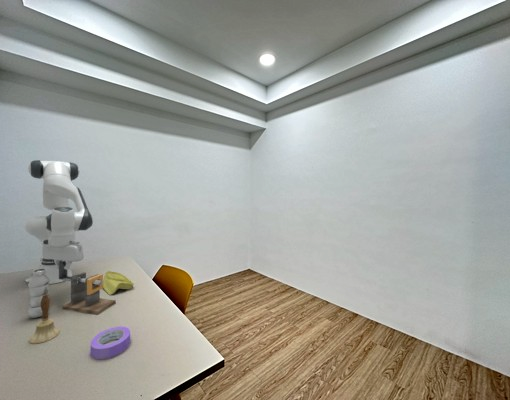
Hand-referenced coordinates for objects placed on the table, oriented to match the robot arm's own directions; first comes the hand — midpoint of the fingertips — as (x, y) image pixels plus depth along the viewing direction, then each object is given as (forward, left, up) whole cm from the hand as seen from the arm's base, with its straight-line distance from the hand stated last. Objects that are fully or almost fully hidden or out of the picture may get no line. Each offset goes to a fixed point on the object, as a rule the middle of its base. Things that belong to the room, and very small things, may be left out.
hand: (63, 268), depth 104 cm
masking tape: (+47, -20, -17) cm, 54 cm away
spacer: (+18, 0, -6) cm, 19 cm away
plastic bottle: (+2, -11, -17) cm, 20 cm away
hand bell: (+19, -21, -17) cm, 33 cm away
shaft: (+10, 0, -6) cm, 11 cm away
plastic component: (+11, +21, -17) cm, 29 cm away
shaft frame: (+16, 0, -16) cm, 23 cm away
